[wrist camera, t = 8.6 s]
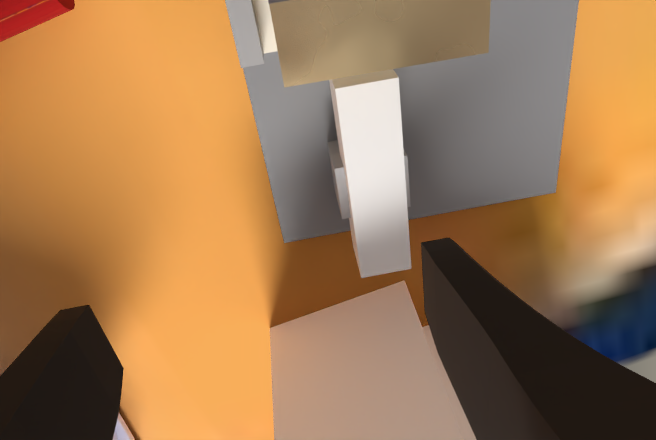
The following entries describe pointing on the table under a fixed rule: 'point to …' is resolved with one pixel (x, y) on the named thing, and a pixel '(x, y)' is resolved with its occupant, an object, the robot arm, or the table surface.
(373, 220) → the shaft stand
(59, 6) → the mechanical clamp
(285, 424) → the corner bracket
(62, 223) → the table surface
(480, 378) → the robot arm
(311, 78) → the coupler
